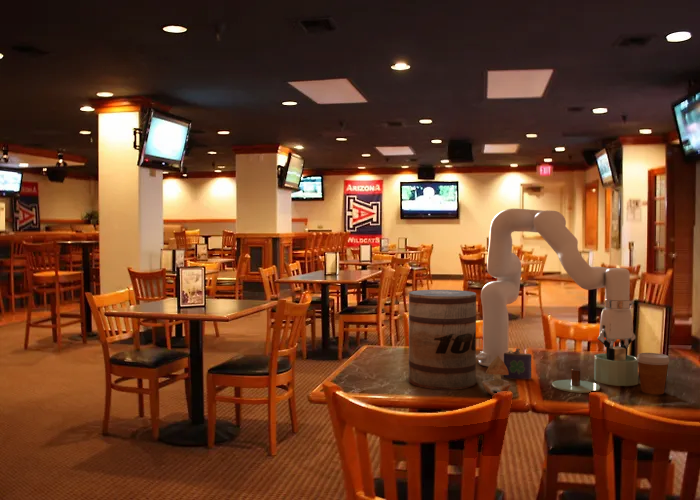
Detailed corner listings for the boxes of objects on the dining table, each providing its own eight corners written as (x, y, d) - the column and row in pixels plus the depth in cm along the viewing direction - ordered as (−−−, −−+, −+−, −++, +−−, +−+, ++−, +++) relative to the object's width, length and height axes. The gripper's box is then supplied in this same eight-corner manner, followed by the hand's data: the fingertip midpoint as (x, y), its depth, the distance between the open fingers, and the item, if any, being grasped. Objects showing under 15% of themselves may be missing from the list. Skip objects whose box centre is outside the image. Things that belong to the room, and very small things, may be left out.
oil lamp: (511, 386, 208) (511, 356, 208) (510, 404, 187) (510, 370, 187) (484, 385, 210) (484, 355, 210) (480, 402, 190) (480, 369, 189)
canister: (611, 388, 206) (611, 362, 205) (586, 379, 219) (586, 354, 219) (647, 386, 209) (647, 360, 209) (620, 376, 222) (620, 352, 222)
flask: (531, 379, 218) (531, 348, 218) (531, 381, 216) (531, 349, 215) (503, 377, 221) (503, 347, 221) (503, 379, 218) (503, 348, 218)
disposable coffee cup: (630, 389, 204) (630, 352, 204) (658, 389, 205) (659, 352, 205) (646, 397, 195) (646, 358, 194) (676, 397, 196) (676, 358, 195)
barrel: (471, 391, 202) (472, 297, 201) (402, 386, 209) (402, 295, 208) (479, 376, 223) (479, 290, 222) (416, 371, 230) (416, 288, 229)
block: (615, 361, 211) (615, 349, 211) (607, 358, 215) (607, 347, 215) (625, 360, 212) (625, 348, 212) (617, 358, 216) (618, 346, 216)
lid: (568, 396, 197) (568, 376, 197) (543, 384, 211) (543, 366, 211) (610, 393, 200) (610, 373, 200) (582, 382, 215) (582, 363, 214)
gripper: (631, 303, 219) (630, 356, 219) (588, 304, 215) (587, 358, 215) (646, 305, 211) (645, 360, 212) (602, 307, 207) (601, 363, 208)
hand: (616, 358), depth 214 cm, fingers closed on block, 4 cm apart
